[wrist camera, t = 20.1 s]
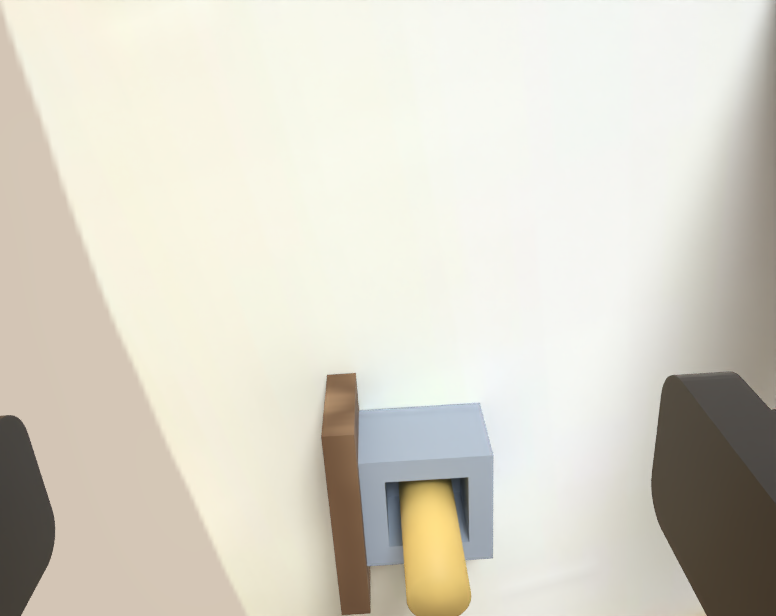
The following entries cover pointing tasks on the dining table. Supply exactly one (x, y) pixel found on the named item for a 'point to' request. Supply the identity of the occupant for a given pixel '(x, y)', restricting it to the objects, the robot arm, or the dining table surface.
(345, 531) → the wall
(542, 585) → the dining table surface
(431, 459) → the socket block
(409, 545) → the dowel
